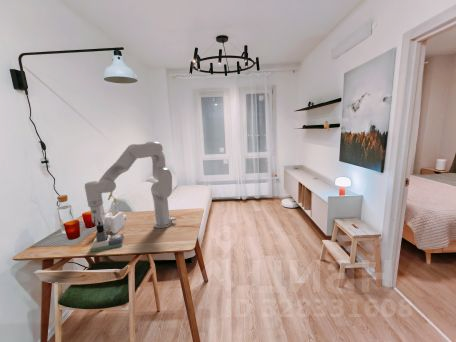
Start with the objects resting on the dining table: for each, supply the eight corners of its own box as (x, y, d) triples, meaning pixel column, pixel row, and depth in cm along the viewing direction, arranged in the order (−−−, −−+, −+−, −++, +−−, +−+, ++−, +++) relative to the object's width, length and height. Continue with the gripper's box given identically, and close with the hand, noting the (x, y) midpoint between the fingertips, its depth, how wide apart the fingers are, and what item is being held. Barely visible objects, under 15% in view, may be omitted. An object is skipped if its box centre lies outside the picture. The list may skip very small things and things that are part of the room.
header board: (124, 237, 140) (123, 231, 139) (121, 246, 129) (120, 240, 128) (96, 242, 135) (95, 236, 135) (91, 252, 124) (90, 245, 123)
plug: (108, 241, 134) (105, 229, 132) (106, 244, 130) (104, 232, 128) (98, 242, 132) (96, 230, 131) (97, 246, 128) (94, 234, 127)
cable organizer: (114, 235, 143) (111, 219, 141) (98, 236, 143) (95, 220, 141) (125, 225, 158) (123, 210, 155) (111, 226, 158) (108, 211, 156)
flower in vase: (114, 217, 173) (109, 187, 168) (128, 216, 174) (124, 186, 169) (106, 224, 161) (101, 192, 156) (122, 223, 162) (117, 191, 157)
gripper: (99, 205, 120) (105, 235, 124) (105, 197, 134) (110, 225, 138) (84, 207, 118) (90, 238, 121) (91, 199, 132) (96, 227, 135)
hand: (100, 231), depth 129 cm, fingers closed
